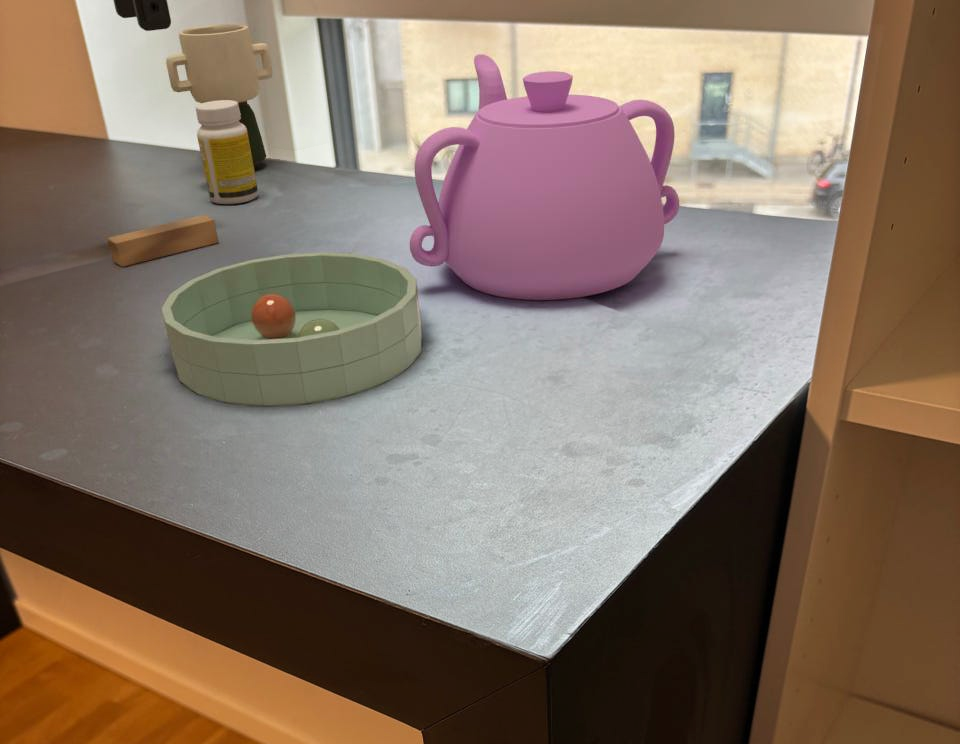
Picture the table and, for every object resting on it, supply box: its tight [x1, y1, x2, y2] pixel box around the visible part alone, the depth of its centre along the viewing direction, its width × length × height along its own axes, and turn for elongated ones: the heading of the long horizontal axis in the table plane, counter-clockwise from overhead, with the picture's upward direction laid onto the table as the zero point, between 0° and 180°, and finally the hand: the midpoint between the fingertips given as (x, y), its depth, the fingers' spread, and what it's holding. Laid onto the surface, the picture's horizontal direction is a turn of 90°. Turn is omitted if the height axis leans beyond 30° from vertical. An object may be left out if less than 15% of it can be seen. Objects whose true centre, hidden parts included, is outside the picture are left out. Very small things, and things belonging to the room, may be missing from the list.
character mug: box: [165, 23, 273, 167], centre depth 106 cm, size 11×7×13 cm, turn 119°
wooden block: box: [106, 214, 220, 268], centre depth 87 cm, size 9×2×2 cm, turn 127°
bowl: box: [160, 251, 423, 407], centre depth 67 cm, size 16×16×4 cm
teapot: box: [409, 53, 680, 301], centre depth 76 cm, size 22×22×14 cm
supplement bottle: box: [195, 100, 259, 205], centre depth 98 cm, size 5×5×8 cm
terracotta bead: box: [251, 293, 296, 339], centre depth 69 cm, size 3×3×3 cm
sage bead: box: [298, 319, 340, 337], centre depth 65 cm, size 3×3×3 cm
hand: (144, 22), depth 75 cm, fingers open, 8 cm apart
